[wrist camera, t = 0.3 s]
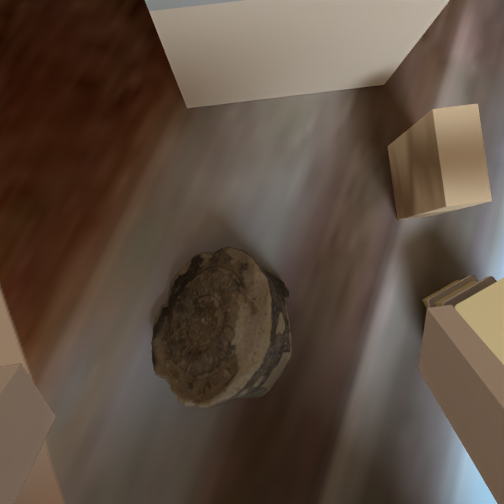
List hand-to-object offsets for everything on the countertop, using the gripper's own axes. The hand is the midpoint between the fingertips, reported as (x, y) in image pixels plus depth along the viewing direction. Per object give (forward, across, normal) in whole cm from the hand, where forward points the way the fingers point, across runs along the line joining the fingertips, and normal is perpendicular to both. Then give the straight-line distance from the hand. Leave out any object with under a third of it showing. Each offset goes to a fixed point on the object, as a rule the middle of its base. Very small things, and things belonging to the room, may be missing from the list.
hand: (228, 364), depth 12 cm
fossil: (+14, +2, +9) cm, 17 cm away
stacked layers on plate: (+13, -16, +12) cm, 24 cm away
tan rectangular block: (+18, -14, +2) cm, 23 cm away
